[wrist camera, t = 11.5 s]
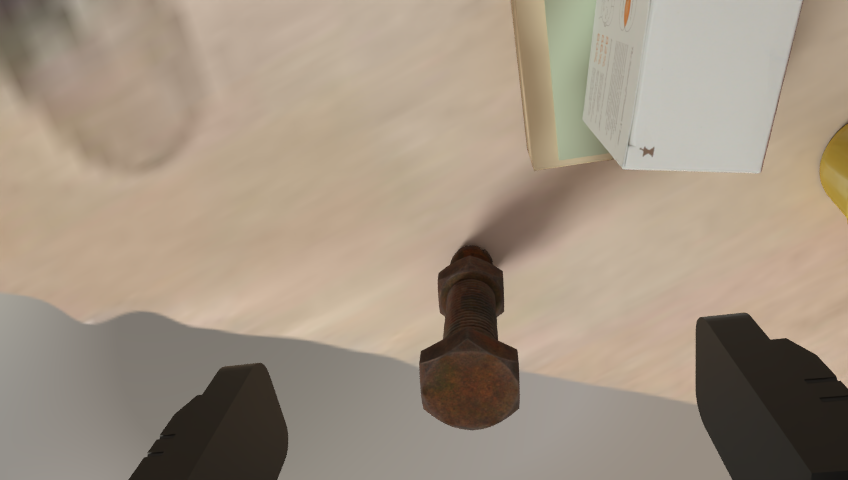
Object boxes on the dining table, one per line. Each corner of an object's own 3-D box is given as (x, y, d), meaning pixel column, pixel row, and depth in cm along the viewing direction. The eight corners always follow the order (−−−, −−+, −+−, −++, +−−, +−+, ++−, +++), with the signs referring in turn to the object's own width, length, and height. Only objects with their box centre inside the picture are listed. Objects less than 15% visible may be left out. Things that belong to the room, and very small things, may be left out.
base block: (715, -85, 33) (756, -98, 28) (712, 121, 38) (747, 141, 33) (505, -43, 35) (510, -48, 30) (527, 149, 39) (534, 172, 35)
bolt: (422, 273, 44) (397, 403, 30) (452, 218, 42) (440, 330, 28) (490, 305, 45) (496, 446, 31) (522, 252, 43) (544, 378, 29)
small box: (679, 123, 33) (763, 180, 23) (578, 120, 33) (620, 175, 24) (709, -33, 30) (821, -42, 20) (597, -34, 30) (655, -44, 20)
